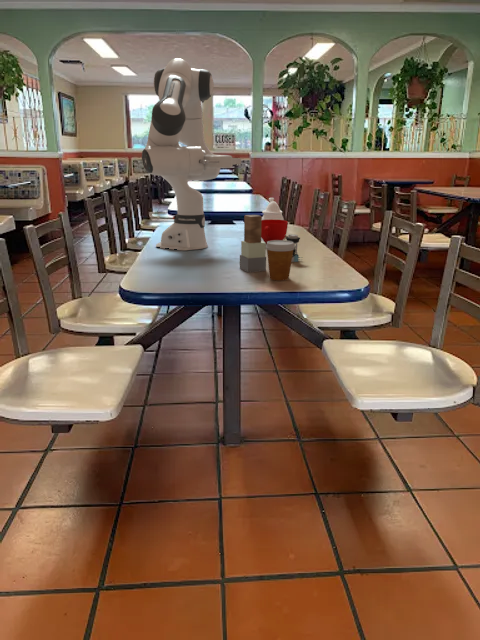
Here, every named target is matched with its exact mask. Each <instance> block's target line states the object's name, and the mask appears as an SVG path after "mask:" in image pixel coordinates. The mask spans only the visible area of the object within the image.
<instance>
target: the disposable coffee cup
mask: <svg viewBox="0 0 480 640" xmlns="http://www.w3.org/2000/svg"><path fill="white" fill-rule="evenodd" d="M294 248H296V245H295V246H294V243H293V242H291V241H287V240H286V239H285V240H284V239H283V240H273V241H268V242H267V244H266V253H267V254H266V255H267V263H268V274H269V275H268V276H269V279H270V280H272V281H280V282H281V281H287V280H289V279H290V272H291V267H292V262H291V261H292V255H293V250H294Z"/></svg>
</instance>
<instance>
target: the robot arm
mask: <svg viewBox="0 0 480 640" xmlns="http://www.w3.org/2000/svg"><path fill="white" fill-rule="evenodd" d="M214 87H215V83H214V80H213V76H212V73H211V72H210V70H207V69H205V68H204V69H203V68H200V69H198V68H194V67H191V65H190V63H189V62H188V61H187V60H185V59H182V58H178V57H176V58H172V59H171V60H169V61H168V62H167V64H166V65H165V67H163V68H159V69H158V70H157V71H156V72H155V73H154V76H153V89H154V93H155V94H156V96H157V97H158V101H157V102H155V104H154V105H153V107H152V111H151V117H150V118H151V120H150V125H149V130H148V135H147V136H148V137H147V140H146V141H147V142H146V145H145V147H144V149H142V151H141V161H142V166H143V168H144V170H145V172H146V173H147V174H150V175H152V176H160V177H162V178H163V179H164V180H165V181H166V182H167V183H169V185H170V186H171V187H172V189H173V191H174V195H175V198H176V206H177V207H176V209H177V214H174V215H173V216H172V220H173V223H172V224H171V225H169V226H168V227H167V228H166V229H165V230H164V231H163V232H162V233H161V237H160V242H158V243H156V244H155V247H160V248H159V249H165V248H169V249H168V250H174V249H177V250H176V251H191V250H202V249H206V248H208V247H209V245H208V241H207V237H206V232H205V226H206V219H205V213H204V196H203V195H202V193H201V192H200V191H199V190H197V189H195V188H193V187H191V186H190V185H189V183H188V182H190V181H210V180H213V179H216V178H217V177H218V176H219V174H220V172H221V169H232V168H233V165H241V164H242V158H239V157H233V156H232V155H227V154H215V153H213V152H212V151H211V150H210V149H209V147H208V146H207V143H206V141H205V137H204V128H203V107H202V106H203V105H202V103H204V102H205V101H207V100H209V99H210V98H211V97H212V94H213V91H214ZM179 142H180V143H181V144H183V145H184V146H180V144H179Z"/></svg>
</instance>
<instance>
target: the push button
mask: <svg viewBox="0 0 480 640" xmlns="http://www.w3.org/2000/svg"><path fill="white" fill-rule="evenodd" d="M300 239H301V237H299V235H298V234H288V236H285V240H286V241H291V242H293V243H294V246H295V248H294V250H293V255H292V261H291V263H292V262H294V263H298V262H299V261H301V258H302V259H303V257H302V256H299V253H298V243H300Z"/></svg>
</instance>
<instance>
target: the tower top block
mask: <svg viewBox="0 0 480 640" xmlns="http://www.w3.org/2000/svg"><path fill="white" fill-rule="evenodd" d="M240 242H241V245H240V246H241V248H240V250H241V252H240V253H241V254H240V255H243V256H245V257H247V258H260V257H266V255H267V254H266V253H267V249H266V245H267V244H266V243H265V242H264V241H262V240H261V242H260V243H248V242H245V241H244V240H241V241H240Z"/></svg>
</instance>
